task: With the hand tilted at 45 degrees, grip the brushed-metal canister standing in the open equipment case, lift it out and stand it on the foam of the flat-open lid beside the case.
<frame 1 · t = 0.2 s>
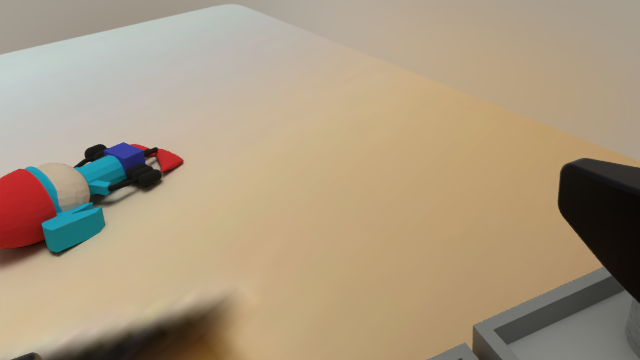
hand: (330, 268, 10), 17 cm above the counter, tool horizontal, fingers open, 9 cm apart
toy figure: (87, 210, 42), on the counter
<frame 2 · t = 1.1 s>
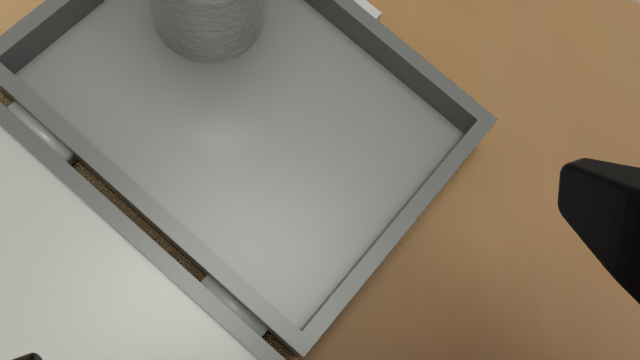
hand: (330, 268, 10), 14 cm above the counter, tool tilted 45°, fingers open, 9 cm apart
case: (246, 115, 25), on the counter
grey cylinder: (208, 13, 25), point 1 cm above the counter, touching case
lid: (12, 348, 21), on the counter
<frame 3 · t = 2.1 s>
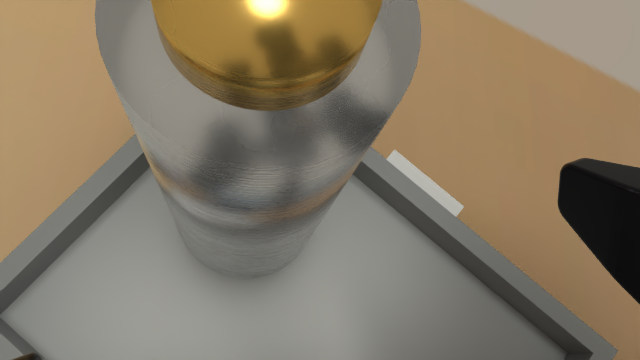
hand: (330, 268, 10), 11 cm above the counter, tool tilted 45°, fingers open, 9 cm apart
case: (296, 336, 20), on the counter
grey cylinder: (246, 209, 20), point 1 cm above the counter, touching case
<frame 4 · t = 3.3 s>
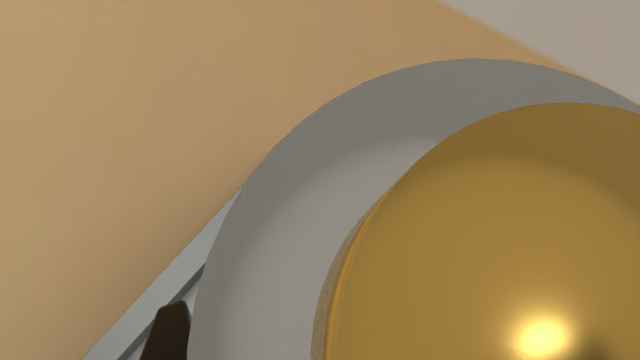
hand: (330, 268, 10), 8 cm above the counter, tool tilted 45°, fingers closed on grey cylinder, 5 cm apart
grey cylinder: (308, 349, 16), point 1 cm above the counter, touching case, gripper
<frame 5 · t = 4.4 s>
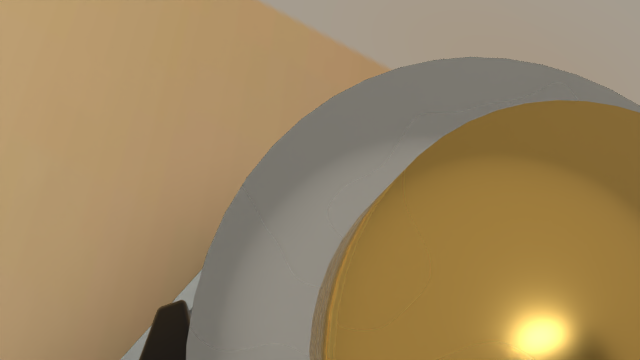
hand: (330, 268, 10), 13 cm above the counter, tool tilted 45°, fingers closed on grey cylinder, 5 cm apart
grey cylinder: (308, 348, 16), point 7 cm above the counter, touching gripper
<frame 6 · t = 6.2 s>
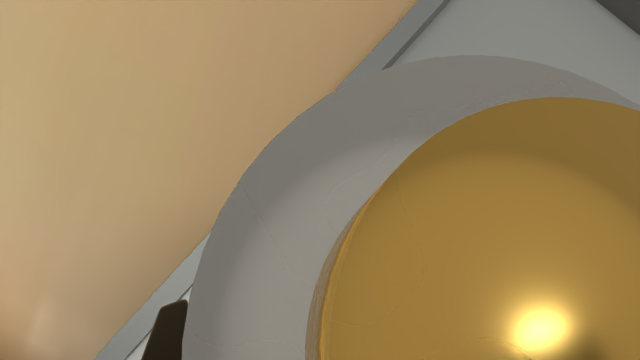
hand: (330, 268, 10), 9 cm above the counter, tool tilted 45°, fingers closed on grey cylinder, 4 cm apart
case: (580, 171, 21), on the counter
grey cylinder: (307, 348, 16), point 2 cm above the counter, touching gripper
when the fingers open (9 cm above the counter, at t = 6.4 s): grey cylinder drops 1 cm, resting on lid.
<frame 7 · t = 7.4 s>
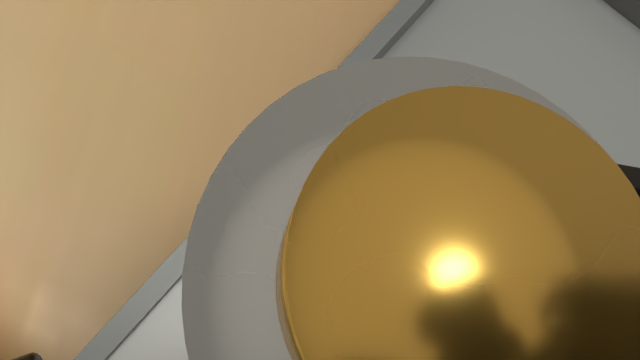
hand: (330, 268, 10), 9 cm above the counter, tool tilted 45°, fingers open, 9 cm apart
case: (573, 159, 21), on the counter
grey cylinder: (297, 331, 17), point 1 cm above the counter, touching lid
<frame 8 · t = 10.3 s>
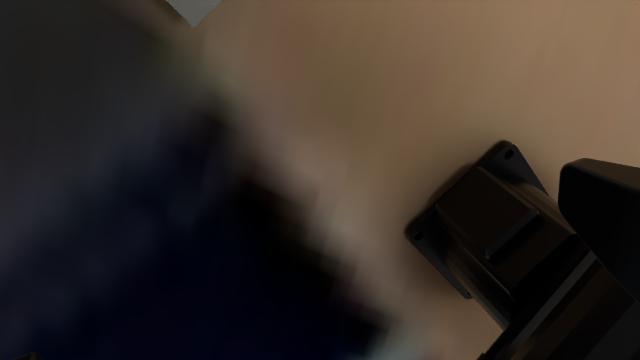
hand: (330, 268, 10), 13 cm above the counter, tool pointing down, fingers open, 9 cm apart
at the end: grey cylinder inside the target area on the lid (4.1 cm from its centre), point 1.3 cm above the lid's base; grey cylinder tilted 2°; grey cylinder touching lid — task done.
